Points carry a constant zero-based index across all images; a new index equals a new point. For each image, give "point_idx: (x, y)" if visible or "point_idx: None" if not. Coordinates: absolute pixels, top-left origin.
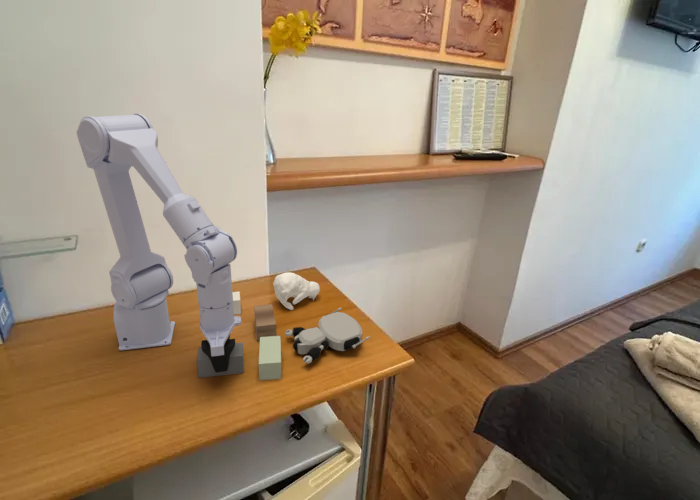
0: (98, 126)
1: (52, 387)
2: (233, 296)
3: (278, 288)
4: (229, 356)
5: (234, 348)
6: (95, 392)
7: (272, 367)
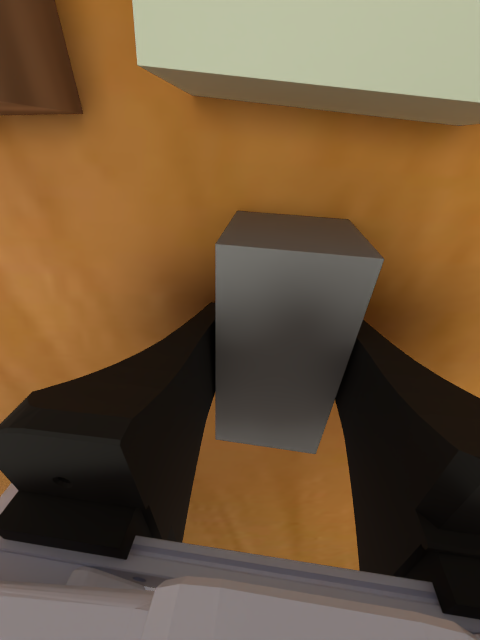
0: None
1: (246, 549)
2: None
3: None
4: (433, 373)
5: (272, 304)
6: (280, 521)
7: None
